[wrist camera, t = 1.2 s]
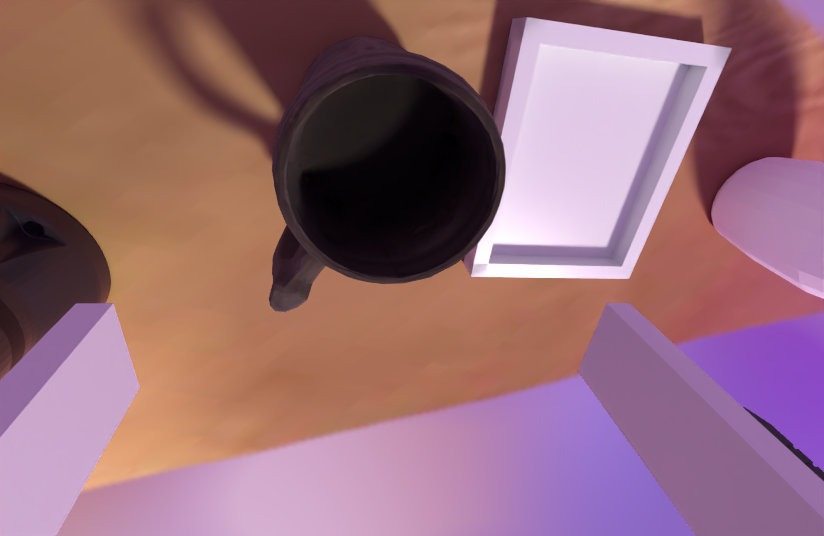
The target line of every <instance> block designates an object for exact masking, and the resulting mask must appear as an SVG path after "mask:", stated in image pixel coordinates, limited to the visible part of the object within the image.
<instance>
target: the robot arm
mask: <svg viewBox="0 0 824 536" xmlns="http://www.w3.org/2000/svg"><path fill="white" fill-rule="evenodd" d="M110 286H111V278H110V271H109V267H108V264H107V261H106V259H105V257H104V254H103V253H102V251H101V249H100V247H99V246H98V244H97V243H96V242H95V240H94V239H93V238H92V236H91V235H90V234H89V233H88V232H87V231H86V230H85V229H84V228H83V227H82V226H81V225H80V224H79V223H78V222H77V221H76V220H74V219H73V218H72V217H71V216H69V215H68V214H67V213H65V212H64V211H62V210H61V209H59V208H58V207H56V206H55V205H53V204H51V203H50V202H48V201H46V200H44V199H42V198H40V197H38V196H36V195H34V194H31V193H29V192H26V191H24V190H21V189H18V188H15V187H12V186H9V185H5V184H1V183H0V536H56V535H57V533H58V531H59V529H60V527H61V526H62V524H63V522H64V521H65V519H66V517H67V515H68V514H69V512H70V510H71V508H72V507H73V505H74V503H75V501H76V499H77V497H78V496H79V494H80V492H81V491H82V489H83V487H84V485H85V484H86V482H87V480H88V478H89V476H90V475H91V473H92V471H93V469H94V468H95V466H96V464H97V462H98V461H99V459H100V457H101V455H102V453H103V452H104V450H105V448H106V446H107V445H108V443H109V441H110V439H111V438H112V436H113V434H114V432H115V430H116V429H117V427H118V425H119V423H120V422H121V420H122V418H123V416H124V415H125V413H126V411H127V409H128V408H129V406H130V404H131V402H132V400H133V399H134V397H135V395H136V393H137V392H138V390H139V388H140V386H139V383H138V380H137V377H136V374H135V370H134V367H133V364H132V361H131V358H130V355H129V351H128V348H127V345H126V342H125V339H124V336H123V333H122V329H121V326H120V323H119V320H118V317H117V314H116V310H115V307H114V304H113V303H106V301H107V298H108V296H109V292H110ZM578 372H579V373H580V375H581V376H582V378H583V379H584V380H585V382H586V383H587V385H588V386H589V387H590V389H591V390H592V391H593V393H594V394H595V396H596V397H597V398H598V400H599V401H600V403H601V404H602V405H603V407H604V408H605V409H606V411H607V412H608V414H609V415H610V417H611V418H612V419H613V421H614V422H615V424H616V425H617V426H618V428H619V429H620V431H621V432H622V433H623V435H624V436H625V438H626V439H627V440H628V442H629V443H630V445H631V446H632V447H633V449H634V450H635V452H636V453H637V454H638V456H639V457H640V459H641V460H642V461H643V463H644V464H645V466H646V467H647V468H648V470H649V471H650V473H651V474H652V475H653V477H654V478H655V479H656V481H657V482H658V484H659V485H660V487H661V488H662V489H663V491H664V492H665V494H666V495H667V496H668V498H669V499H670V500H671V502H672V503H673V505H674V506H675V507H676V509H677V510H678V512H679V513H680V514H681V516H682V517H683V519H684V520H685V521H686V523H687V524H688V526H689V527H690V528H691V530H692V531H693V532H694V534H695V535H696V536H824V472H823V471H822V470H821V469H820V468H819V467H814V466H813V462H812V461H811V460H810V459H809V458H807V457H806V456H805V455H804V454H803V453H802V452H801V451H800V450H799V449H794V447H793V444H792V443H791V442H790V441H789V440H787V439H786V438H785V437H784V436H783V435H782V434H781V433H780V432H778V431H777V430H776V429H775V428H774V427H773V426H772V425H771V424H769V423H768V422H766V421H765V420H763V419H762V418H760V417H759V416H757V415H755V414H754V413H752V412H751V411H749V410H748V409H746V408H745V407H742V406H741V405H740V404H739V403H738V402H737V401H735V400H734V399H733V398H732V397H731V396H730V395H729V394H728V393H727V392H726V391H725V390H723V389H722V388H721V387H720V386H719V385H718V384H717V383H716V382H715V381H714V380H713V379H711V378H710V377H709V376H708V375H707V374H706V373H705V372H704V371H703V370H702V369H701V368H699V367H698V366H697V365H696V364H695V363H694V362H693V361H692V360H691V359H690V358H689V357H687V356H686V355H685V354H684V353H683V352H682V351H681V350H680V349H679V348H678V347H677V346H675V345H674V344H673V343H672V342H671V341H670V340H669V339H668V338H667V337H666V336H665V335H663V334H662V333H661V332H660V331H659V330H658V329H657V328H656V327H655V326H654V325H653V324H651V323H650V322H649V321H648V320H647V319H646V318H645V317H644V316H643V315H642V314H641V313H639V312H638V311H637V310H636V309H635V308H634V307H633V306H632V305H631V304H630V303H607V304H606V306H605V309H604V311H603V313H602V316H601V318H600V320H599V323H598V325H597V327H596V330H595V332H594V334H593V337H592V339H591V341H590V344H589V346H588V348H587V351H586V353H585V355H584V357H583V360H582V362H581V364H580V367H579V369H578Z"/></svg>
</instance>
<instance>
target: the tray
mask: <svg viewBox="0 0 824 536" xmlns="http://www.w3.org/2000/svg"><path fill="white" fill-rule="evenodd" d="M731 49H732V48H727V47H721V46H714V45H707V44H701V43H694V42H688V41H681V40H675V39H668V38H661V37H655V36H648V35H642V34H635V33H628V32H622V31H615V30H609V29H602V28H596V27H589V26H582V25H576V24H569V23H563V22H556V21H549V20H543V19H536V18H530V17H523V18H514V19H512V24H511V29H510V34H509V39H508V44H507V49H506V54H505V59H504V64H503V69H502V74H501V79H500V84H499V89H498V94H497V99H496V104H495V108H494V113H493V119H494V121H495V123H496V125H497V128H498V130H499V133H500V136H501V139H502V142H503V145H504V152H505V160H506V177H505V188H504V191H503V195H502V198H501V202H500V206H499V208H498V211H497V213H496V215H495V218H494V220H493V223H492V224H491V226H490V227H489V229H488V230H487V232H486V233H485V234H484V236H483V237H482V239H481V240H480V242H479V243H478V244H477V246H475V247H474V248H473V249H472V250H471V251H470V252H469V253H468V254H466V255H465V258H464V265H465V267H466V268H467V270H468V272H469V274H470V276H471V277H538V278H607V279H629V277H630V275H631V273H632V271H633V268H634V266H635V264H636V262H637V259H638V257H639V255H640V253H641V250H642V248H643V246H644V244H645V242H646V239H647V237H648V235H649V233H650V230H651V228H652V226H653V224H654V221H655V219H656V217H657V215H658V212H659V210H660V208H661V206H662V204H663V201H664V199H665V197H666V195H667V192H668V190H669V188H670V186H671V183H672V181H673V179H674V177H675V174H676V172H677V170H678V168H679V166H680V163H681V161H682V159H683V157H684V154H685V152H686V150H687V148H688V145H689V143H690V141H691V139H692V136H693V134H694V132H695V130H696V127H697V125H698V123H699V121H700V119H701V116H702V114H703V112H704V110H705V107H706V105H707V103H708V101H709V98H710V96H711V94H712V92H713V89H714V87H715V85H716V83H717V81H718V78H719V76H720V74H721V72H722V69H723V67H724V65H725V63H726V60H727V58H728V56H729V54H730V51H731Z"/></svg>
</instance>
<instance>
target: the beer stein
mask: <svg viewBox="0 0 824 536" xmlns="http://www.w3.org/2000/svg"><path fill="white" fill-rule="evenodd" d="M272 173H273V178H274V187H275V191H276V196H277V200H278V205H279V207H280V210H281V212H282V215H283V217H284V220H285V222H286V224H287V226H286V227H285V229H284V232H283V234H282V236H281V238H280V240H279V242H278V244H277V247H276V250H275V252H274V256H273V265H272V275H273V285H272V288H271V292H270V297H269V302H270V305H271V307H272V308H273V309H274V310H275V311H280V312H287V311H289V310H292V309H294V308H297V307H298V306H300V305H301V304H302V303H304V302H305V301H306V300H307V298H308V295H309V292H310V289H311V286H312V283H313V281H314V280H315V278H316V277H317V276H318V274H319V273H320V272H321V271H322V270H323V268H324V267H325V266H327V267H329V268H331V269H333V270H335V271H337V272H339V273H341V274H343V275H345V276H347V277H350V278H353V279H357V280H361V281H366V282H371V283H380V284H395V283H407V282H412V281H416V280H421V279H425V278H428V277H431V276H433V275H435V274H437V273H439V272H441V271H443V270H445V269H447V268H449V267H450V266H452V265H454V264H456V263H458V262H459V261H460V260H461V259H462V258H463V257H464V256H465V255H466V254H468V253H469V252H470V251H471V250H472V249H473V248H474V247H475V246H477V244H478V243H479V242H480V240H481V239H482V237H483V236H484V234H485V233H486V232H487V230H488V229H489V227H490V226H491V224H492V223H493V220H494V218H495V215H496V213H497V211H498V208H499V206H500V202H501V198H502V195H503V191H504V188H505V177H506V160H505V152H504V145H503V142H502V139H501V136H500V133H499V130H498V128H497V125H496V123H495V121H494V119H493V116H492V115H491V113H490V111H489V109H488V107H487V106H486V104H485V102H484V100H483V99H482V98H481V97H480V96H479V95H478V93H477V92H476V91H475V90H474V89H473V88H472V87H471V86H470V85H469V84H468V83H467V82H466V81H465V80H464V79H463V78H462V77H461V76H459V75H458V74H456V73H455V72H453V71H452V70H450V69H449V68H447V67H446V66H444V65H442V64H440V63H438V62H436V61H433V60H431V59H429V58H427V57H425V56H422V55H418V54H415V53H411V52H407V51H405V50H403V49H402V48H400V47H398V46H396V45H394V44H392V43H389V42H387V41H385V40H382V39H379V38H374V37H369V36H359V37H352V38H349V39H345V40H342V41H339V42H337V43H335V44H333V45H331V46H330V47H329V48H327V49H326V50H325V51H323V52H322V53H320V54H319V55H318V57H317V58H316V60H315V61H314V62H313V64H312V65H311V66H310V68H309V69H308V71H307V73H306V76H305V78H304V81H303V83H302V88H301V89H300V91H299V92H298V93H297V95H296V96H295V98H294V99H293V100H292V102H291V103H290V105H289V106H288V107H287V109H286V111H285V113H284V116H283V118H282V120H281V123H280V125H279V127H278V130H277V133H276V138H275V143H274V147H273V164H272Z"/></svg>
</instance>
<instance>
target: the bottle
mask: <svg viewBox="0 0 824 536" xmlns="http://www.w3.org/2000/svg"><path fill="white" fill-rule="evenodd" d="M711 217H712V221H713V226H714V228H715V229H716V230H717V231H718V233H719V234H721V235H722V236H723V237H724V238H726V239H727V240H728V241H730V242H731V243H732V244H733V245H735V246H736V247H737V248H739V249H740V250H741V251H743V252H744V253H745V254H746V255H748V256H749V257H750V258H752V259H753V260H754V261H756V262H758V263H759V264H761V265H763V266H764V267H766V268H768V269H769V270H771V271H772V272H774V273H776V274H777V275H779V276H781V277H782V278H784V279H786V280H787V281H789V282H791V283H792V284H794V285H796V286H797V287H799V288H801V289H802V290H804V291H805V292H808V293H810V294H813V295H815V296H818V297H821V298H823V299H824V162H819V161H810V160H801V159H792V158H783V157H766V158H763V159H760V160H757V161H754V162H751V163H749V164H747V165H745V166H744V167H742V168H740V169H739V170H737V171H736V172H735V173H734V174H733V175H732V176H730V177H729V178H728V179H727V180H726V181H725V183H724V184H723V185H722V187H721V188H720V189H719V191H718V192H717V194H716V197H715V199H714V201H713V203H712V210H711Z"/></svg>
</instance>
